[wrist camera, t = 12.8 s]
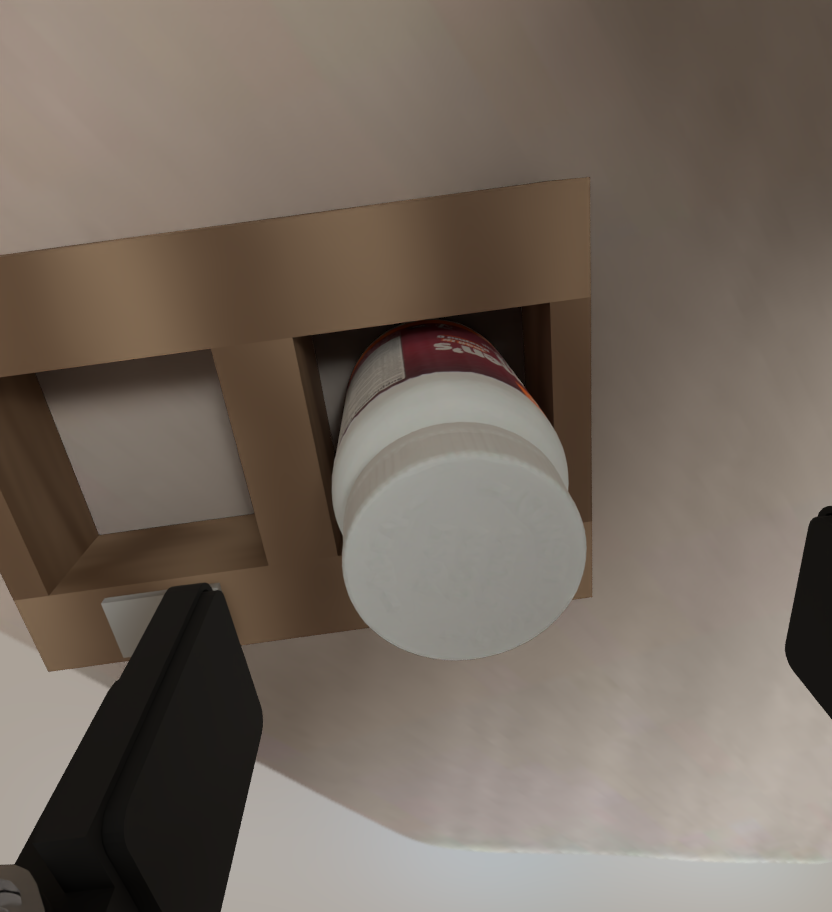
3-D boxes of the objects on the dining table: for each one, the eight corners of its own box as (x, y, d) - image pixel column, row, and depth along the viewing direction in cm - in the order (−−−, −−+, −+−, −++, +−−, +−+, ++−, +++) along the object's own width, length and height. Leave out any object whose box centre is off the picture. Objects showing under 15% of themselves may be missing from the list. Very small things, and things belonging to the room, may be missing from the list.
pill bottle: (540, 373, 23) (679, 524, 12) (447, 496, 24) (499, 718, 14) (403, 280, 21) (429, 363, 11) (315, 420, 23) (263, 608, 12)
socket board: (550, 180, 20) (593, 176, 16) (561, 539, 25) (594, 602, 22) (-48, 261, 20) (-153, 277, 16) (96, 603, 25) (44, 677, 21)
